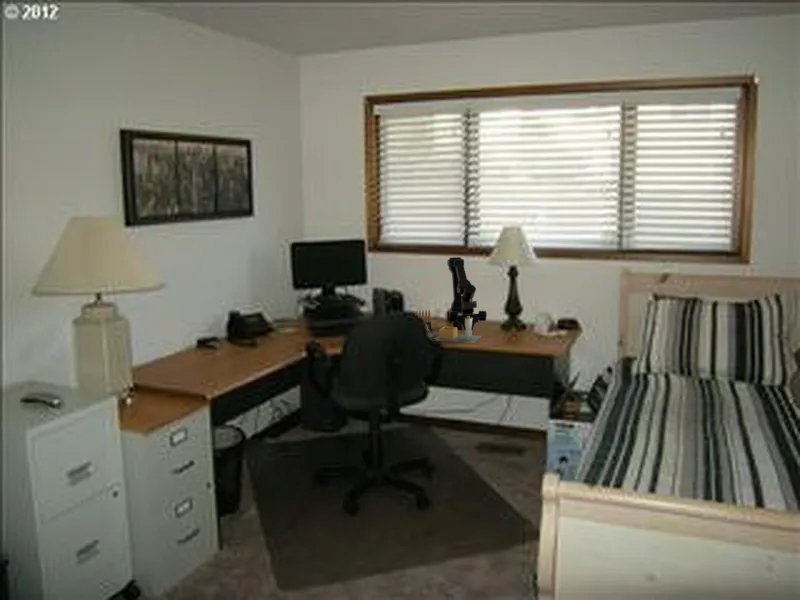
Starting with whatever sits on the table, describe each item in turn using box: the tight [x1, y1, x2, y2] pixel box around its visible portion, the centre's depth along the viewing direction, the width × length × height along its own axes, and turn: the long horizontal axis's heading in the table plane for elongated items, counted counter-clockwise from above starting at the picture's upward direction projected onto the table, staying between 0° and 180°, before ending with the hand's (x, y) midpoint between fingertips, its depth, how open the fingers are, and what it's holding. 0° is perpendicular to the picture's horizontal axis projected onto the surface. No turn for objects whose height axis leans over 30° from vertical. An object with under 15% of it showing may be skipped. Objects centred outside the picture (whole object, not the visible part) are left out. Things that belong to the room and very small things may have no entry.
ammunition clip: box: [412, 309, 433, 332], centre depth 380 cm, size 11×2×12 cm, turn 107°
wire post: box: [464, 316, 473, 341], centre depth 354 cm, size 4×4×12 cm
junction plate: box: [433, 326, 482, 344], centre depth 360 cm, size 16×22×6 cm
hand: (468, 330), depth 353 cm, fingers closed on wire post, 3 cm apart
